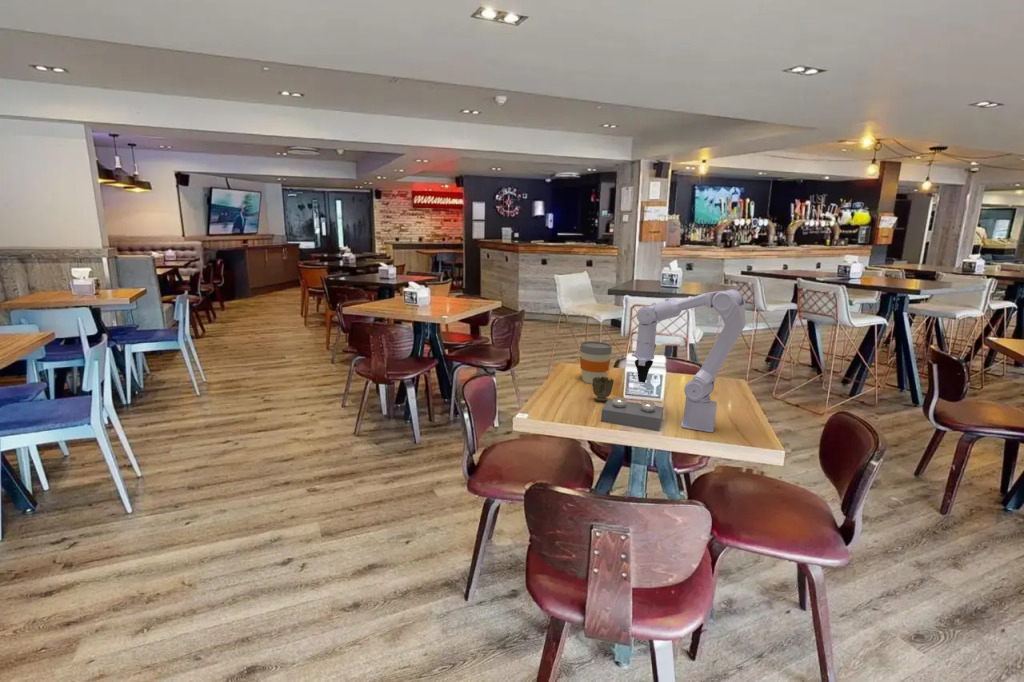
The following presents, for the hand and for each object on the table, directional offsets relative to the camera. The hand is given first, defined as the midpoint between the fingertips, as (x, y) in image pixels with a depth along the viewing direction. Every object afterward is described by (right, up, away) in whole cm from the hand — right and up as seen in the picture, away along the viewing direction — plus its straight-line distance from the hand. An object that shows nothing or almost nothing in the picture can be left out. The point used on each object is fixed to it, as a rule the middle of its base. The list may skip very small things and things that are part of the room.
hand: (641, 381), depth 174 cm
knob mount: (-5, -12, -7) cm, 14 cm away
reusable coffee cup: (-11, -3, +36) cm, 38 cm away
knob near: (-1, -11, -8) cm, 14 cm away
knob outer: (-9, -10, -5) cm, 14 cm away
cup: (-12, -8, +12) cm, 18 cm away
